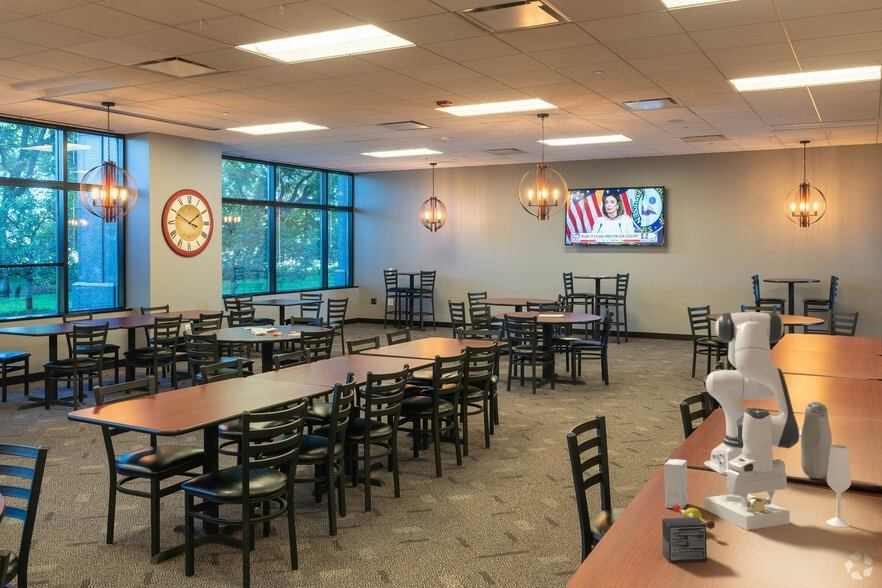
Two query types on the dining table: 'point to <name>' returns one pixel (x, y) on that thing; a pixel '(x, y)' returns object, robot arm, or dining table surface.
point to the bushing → (757, 504)
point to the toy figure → (693, 515)
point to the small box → (684, 539)
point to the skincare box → (676, 483)
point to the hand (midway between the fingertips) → (756, 505)
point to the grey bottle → (815, 441)
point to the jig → (746, 512)
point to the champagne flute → (838, 479)
